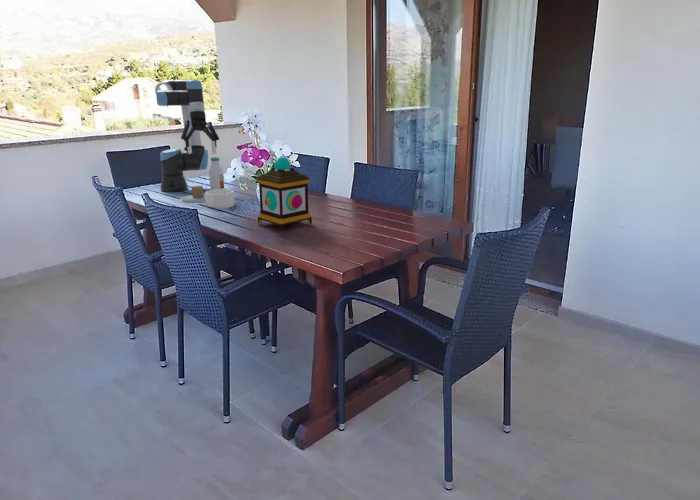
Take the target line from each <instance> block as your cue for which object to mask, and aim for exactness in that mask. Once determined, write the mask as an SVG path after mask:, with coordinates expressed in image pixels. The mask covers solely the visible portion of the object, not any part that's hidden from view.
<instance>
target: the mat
mask: <svg viewBox="0 0 700 500" xmlns="http://www.w3.org/2000/svg"><path fill="white" fill-rule="evenodd" d="M173 201H174V202H178V203H184V204H187V203H186V202H183V201H182V198H179V199H174V200H173ZM189 204H190V205H195V206H197V205H202V204H206V202H203V203H188V205H189Z"/></svg>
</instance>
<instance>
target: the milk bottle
mask: <svg viewBox="0 0 700 500" xmlns="http://www.w3.org/2000/svg"><path fill="white" fill-rule="evenodd" d="M210 161H211V162H210V163H211V165H210V168H209V170H208V171H209V172H208V173H209V175H208V177H209V187H210V190H214V189H225V180H224V171H223V169H222V166H221V165H220V157H217V156H215V157H214V156H213V157H210Z"/></svg>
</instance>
